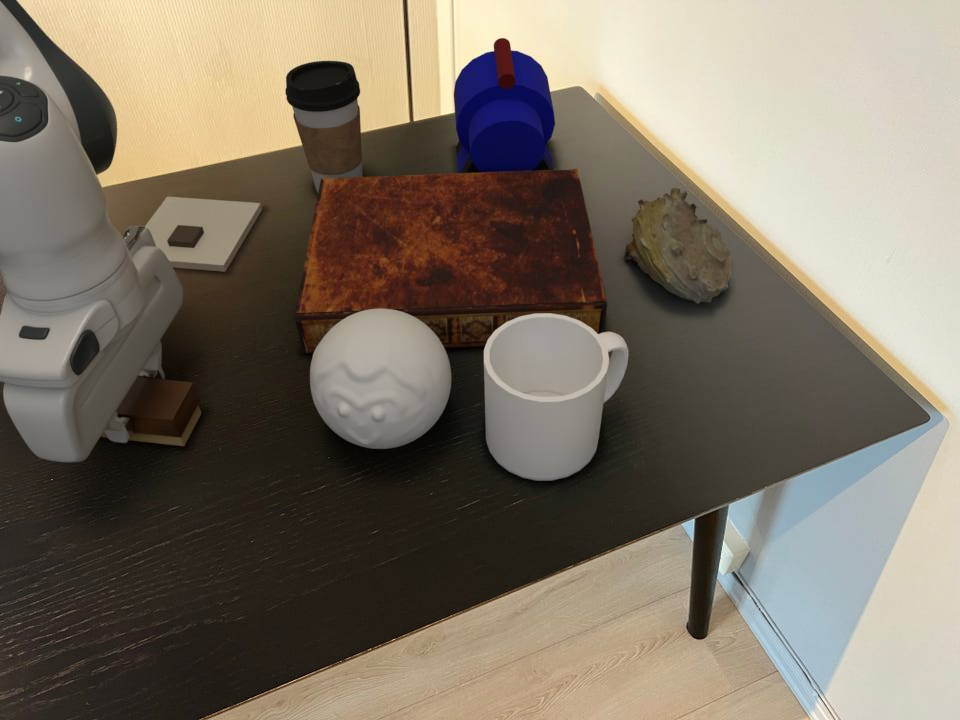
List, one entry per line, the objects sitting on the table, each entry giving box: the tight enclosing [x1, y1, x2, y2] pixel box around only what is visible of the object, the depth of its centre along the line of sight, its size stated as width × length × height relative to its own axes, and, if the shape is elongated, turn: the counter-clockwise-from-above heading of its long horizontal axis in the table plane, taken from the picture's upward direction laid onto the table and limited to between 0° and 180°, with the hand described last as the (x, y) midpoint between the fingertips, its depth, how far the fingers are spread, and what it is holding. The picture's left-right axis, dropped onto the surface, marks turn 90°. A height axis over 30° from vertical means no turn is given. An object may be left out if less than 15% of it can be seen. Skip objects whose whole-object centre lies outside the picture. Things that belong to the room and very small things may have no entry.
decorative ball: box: [309, 309, 452, 450], centre depth 68 cm, size 12×12×12 cm
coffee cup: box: [285, 60, 364, 194], centre depth 94 cm, size 8×8×15 cm
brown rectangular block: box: [100, 377, 202, 447], centre depth 71 cm, size 9×4×4 cm, turn 81°
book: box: [293, 168, 608, 355], centre depth 85 cm, size 30×24×5 cm
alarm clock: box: [453, 37, 556, 173], centre depth 97 cm, size 12×12×15 cm
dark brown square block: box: [167, 225, 204, 248], centre depth 90 cm, size 3×3×1 cm
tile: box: [144, 196, 263, 273], centre depth 92 cm, size 12×12×1 cm
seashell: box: [623, 187, 733, 305], centre depth 83 cm, size 11×14×10 cm
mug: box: [483, 313, 629, 482], centre depth 67 cm, size 13×10×10 cm
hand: (139, 409), depth 71 cm, fingers open, 5 cm apart
